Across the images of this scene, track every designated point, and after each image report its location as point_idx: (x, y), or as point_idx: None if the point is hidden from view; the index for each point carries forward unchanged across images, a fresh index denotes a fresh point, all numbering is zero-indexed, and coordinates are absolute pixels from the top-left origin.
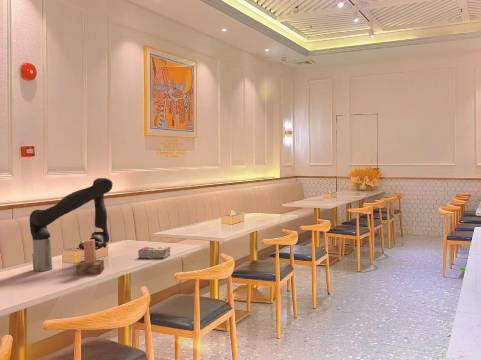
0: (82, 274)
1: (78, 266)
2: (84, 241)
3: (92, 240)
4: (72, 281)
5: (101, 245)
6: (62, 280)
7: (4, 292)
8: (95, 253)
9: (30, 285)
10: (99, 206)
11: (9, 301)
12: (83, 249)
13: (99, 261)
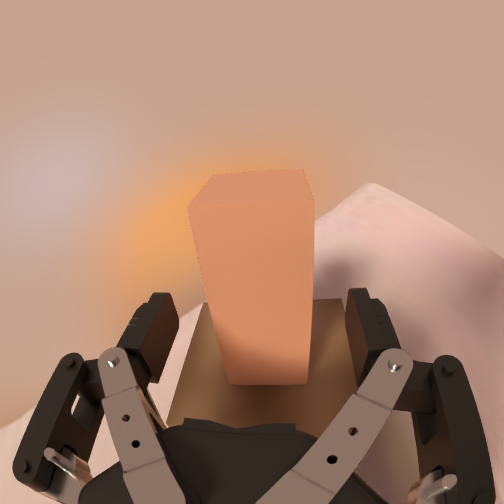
0: None
1: (330, 302)
2: (293, 170)
3: (218, 180)
4: (320, 267)
5: (125, 340)
6: (367, 281)
7: (451, 224)
8: (218, 337)
9: (438, 252)
10: None
11: (390, 194)
12: (346, 327)
13: (203, 370)
